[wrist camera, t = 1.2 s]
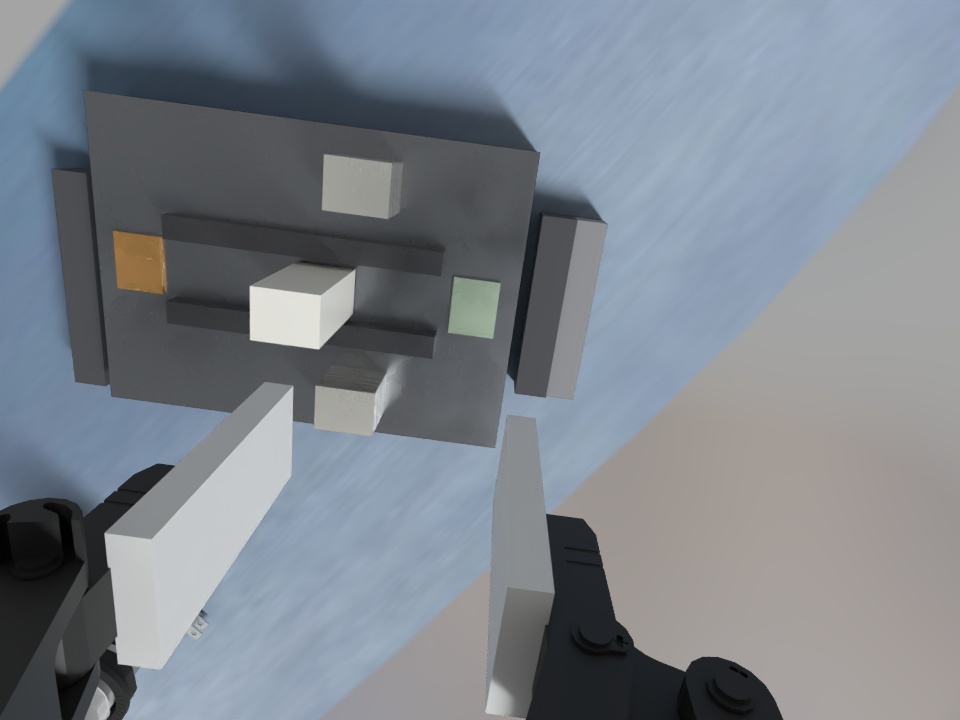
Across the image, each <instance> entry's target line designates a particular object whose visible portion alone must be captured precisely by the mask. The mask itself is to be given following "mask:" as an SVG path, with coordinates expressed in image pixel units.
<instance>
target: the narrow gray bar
mask: <svg viewBox="0 0 960 720" xmlns="http://www.w3.org/2000/svg"><path fill="white" fill-rule="evenodd" d="M607 226H608V224H607V223H606V222H604V221H602V220H594V219H587V218H579V217H572V216H565V215H557V214H550V213H542V212H541V216H540V223H539V229H538V235H537V242H536V248H535V254H534V260H533V267H532V273H531V279H530V286H529V292H528V298H527V305H526V311H525V317H524V324H523V330H522V336H521V342H520V349H519V355H518V361H517V368H516V374H515V380H514V389H515V394H523V395H530V396H538V397H545V398H546V396H547V397H555V398H562V399H570V400H573V399H574V393H575V388H576V383H577V378H578V373H579V368H580V363H581V358H582V353H583V348H584V343H585V338H586V333H587V328H588V322H589V317H590V312H591V307H592V302H593V297H594V292H595V287H596V282H597V277H598V272H599V267H600V262H601V256H602V251H603V246H604V241H605V236H606V231H607Z"/></svg>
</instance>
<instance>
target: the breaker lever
mask: <svg viewBox="0 0 960 720" xmlns="http://www.w3.org/2000/svg"><path fill="white" fill-rule="evenodd" d="M355 271H356V269H351V268H344V267H336V266H329V265H322V264H314V263H307V262H299V261H297V262H295V263H293V264H292V265H290V266H288V267H286V268H284V269H282V270H280V271H278V272H276V273H274V274H272V275H270V276H268V277H266V278H264V279H262V280H260V281H258V282H256V283H254V284H252V285H251V286H250V340H253V341H260V342H267V343H275V344H282V345H290V346H297V347H305V348H312V349H320V348H321V347H322V346H323V345H324V344H325V343H326V341H327V340H328V339H329V338H330V337H331V336H332V335H333V334H334V333H335V332H336V331H337V330H338V329H339V328H340V327H341V326H342V325H343V324H344V323H345V322H346V321H347V320H348V319H349V318H350V317H351V315H352V314H353V306H354V288H355Z"/></svg>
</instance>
